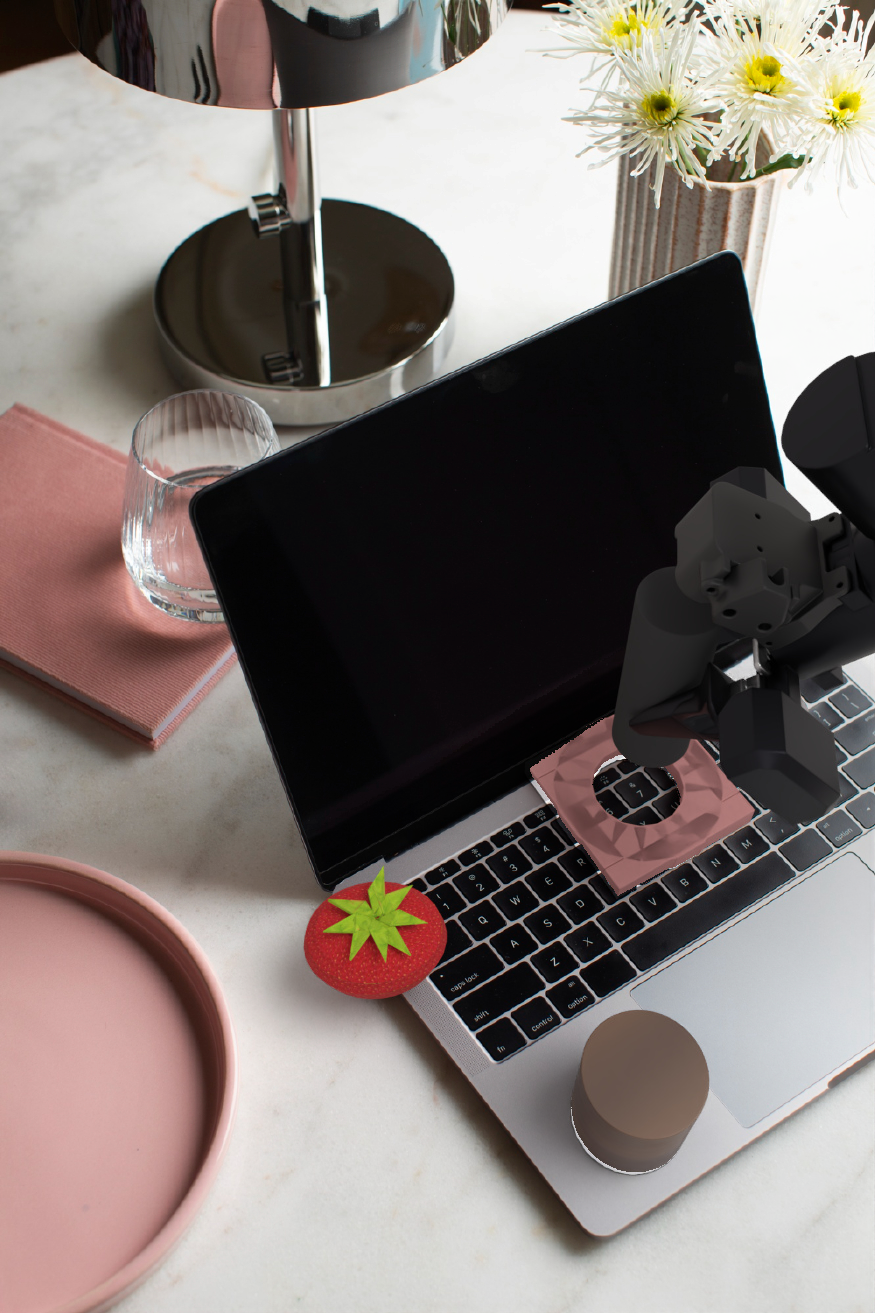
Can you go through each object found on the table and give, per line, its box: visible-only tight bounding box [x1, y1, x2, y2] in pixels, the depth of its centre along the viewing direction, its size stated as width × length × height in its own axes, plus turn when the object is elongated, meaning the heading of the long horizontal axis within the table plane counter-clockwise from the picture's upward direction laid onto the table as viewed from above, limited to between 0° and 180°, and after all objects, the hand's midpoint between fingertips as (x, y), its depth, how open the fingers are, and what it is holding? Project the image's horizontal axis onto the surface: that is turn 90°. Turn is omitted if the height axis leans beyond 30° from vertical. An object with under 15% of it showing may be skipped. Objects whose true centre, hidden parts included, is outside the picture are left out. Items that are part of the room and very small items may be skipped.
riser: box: [570, 1009, 710, 1172], centre depth 56 cm, size 6×6×7 cm
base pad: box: [530, 714, 756, 896], centre depth 69 cm, size 10×10×2 cm
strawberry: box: [302, 865, 448, 1000], centre depth 60 cm, size 6×8×10 cm
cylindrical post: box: [612, 565, 722, 769], centre depth 60 cm, size 4×4×12 cm
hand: (634, 691), depth 61 cm, fingers closed on cylindrical post, 4 cm apart
